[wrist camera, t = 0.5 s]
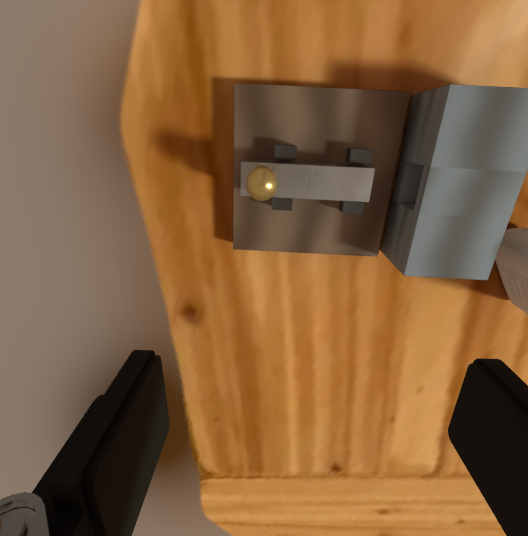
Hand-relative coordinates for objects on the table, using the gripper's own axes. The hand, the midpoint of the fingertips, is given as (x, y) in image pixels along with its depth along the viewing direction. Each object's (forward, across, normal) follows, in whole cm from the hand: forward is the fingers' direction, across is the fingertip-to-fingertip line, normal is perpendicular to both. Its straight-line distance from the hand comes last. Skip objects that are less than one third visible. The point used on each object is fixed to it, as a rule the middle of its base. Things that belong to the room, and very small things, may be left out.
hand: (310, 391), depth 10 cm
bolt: (+25, -2, -4) cm, 25 cm away
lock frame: (+27, -8, -3) cm, 29 cm away
